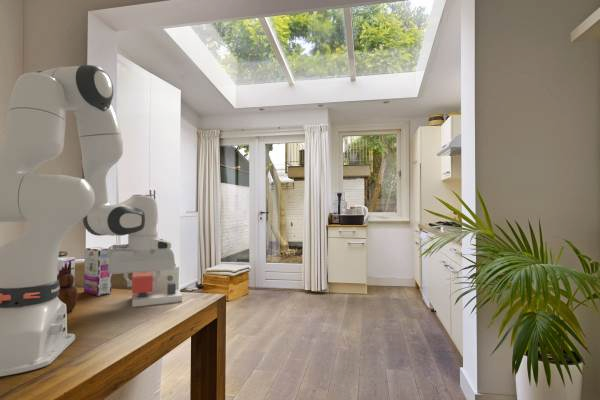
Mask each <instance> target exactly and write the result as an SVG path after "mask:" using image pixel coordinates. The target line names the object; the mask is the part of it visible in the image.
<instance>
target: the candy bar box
mask: <svg viewBox="0 0 600 400" xmlns="http://www.w3.org/2000/svg"><path fill="white" fill-rule="evenodd" d="M108 248H109V247H100V246H93V247H85V248H84V274H83V275H84V277H83V279H84V280H83V292H84V293H87V294H90V295H94V296H97V297H101V296H105V295H111V294H112V276H113V274H109V273H108V263H109V258H108V257H107V250H108Z"/></svg>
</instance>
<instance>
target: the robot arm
mask: <svg viewBox="0 0 600 400" xmlns="http://www.w3.org/2000/svg"><path fill="white" fill-rule="evenodd" d="M113 98H114V85H113V81H112V80H111V78H110V76H109V75H108V73H107V72H106V71H105V70H104V69H103V68H101V67H100V66H98V65H92V64H91V65H90V64H82V65H79V66H78V65H75V66H74V65H73V66H59V67H53V68H50V69H46V70H39V71H36V72H34V71H32V72H26V73H23V74H21V75H20V76H18V78H17V80H16V82H15V84H14V86H13V88H12V92H11V95H10V98H9V102H8V103H9V104H8V107H7V108H8V109H7V115H6V122H5V128H4V133H3V136H2V141H1V144H0V222H3V223H5V222H6V223H7V222H11V223H15V222H17V223H18V222H19V223H20V222H21V223H22V222H23V223H28V225H27V230H26V231H25V232H24V234H23V235H21V236H19V237H16V238H14V239H11V240H10V241H8V242H6V243H4V244H2V246H0V377H4V376H5V377H6V376H11V375H16V374H21V373H26V372H30V371H33V370H37V369H40V368H44V367H46V366H48V365H51V364H52V362H54V360H55V361H56V359H57V358H58V356H60V355H61V354H62V353H63V352H64V351H65V350H66V349H67V348H68V347H69V346H70V345H71V344H72V343H73V342H74V341H75V340H76V335H75V333H68V323H67V322H68V321H67V320H68V319H67V317H68V316H67V315H68V314H67V313H68V312H67V311H66V304H64V303H63V302H62V301H60V299H59V298H58V295H59V289H60V285H59V280H58V279H57V267H58V256H59V251H60V249H61V246H62V242H63V241H64V239H65V237H66V235H67V234H68V233H69V231H70V230H71V229H72V227H73V226H75V225H76V224H77V223H78V222H80V221H83V227H84V228H85V229H86V230H87V232H88V233H90V234H91V235H93V236H97V237H98V236H99V237H101V236H116V237H117V236H118V237H122V236H123V237H124V236H126V235H128V237H127V241H128V242H127V244H126V243H125V244H113V245H112V246H109V247H107V248H108V250H107V257H108V258H109V263H108V273H109V274H112V275H120V274H122V275H123V278H124V279H125V281H126V282H127V283H126V284H127V285H126V287H127V288H132V279H129V274H133V273H137V272H151V271H156V274H157V275H156V277H155V279H153V285H156V284H157V279H158V277H159V276H160V272H161V271H165V270H173V269H174V268H175V266H176V262H175V261H176V260H175V254H174V252H173V250H172V249H171V248H172V242H170V241H169V240H166V239H162V238H158V230H157V225H158V216H159V215H158V213H159V212H158V204H157V200H156V199H155V198H154V197H152V196H149V195H146V194H133V195H131V197H129V198H128V199H126V200H124V201H122V202H119V203H117V204H110V202H109V199H108V189H107V188H108V186H107V175H108V173H109V171H110V169H111V168H112V167H113V166H114V165H116V164H118V162H119V161H120V160H121V158H122V157H123V153H124V151H123V150H124V144H123V138H122V133H121V128H120V124H119V121H118V118H117V114H116V113H115V110H114V108H113V105H112V101H113ZM67 111H72V112H73V114H74V116H75V117H76V127H77V129H76V130H77V134H78V140H79V144H80V151H81V159H82V160H81V161H82V162H81V172H82V178H81V177H75V176H72V175H66V174H56V173H55V174H54V173H53V174H49V173H34V172H35V171H36V170H37V169H38V168H39V167H40V166H42V165H43V164H45V163H48V162H50V161H53V160H55V159H56V158H58V157H59V156H60V155H61V153H62V152H63V150H64V145H65V137H66V136H65V135H66V134H65V133H66V124H67V123H66V122H67Z"/></svg>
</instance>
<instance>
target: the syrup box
mask: <svg viewBox="0 0 600 400" xmlns="http://www.w3.org/2000/svg"><path fill="white" fill-rule="evenodd" d="M70 261H71V274H72V275H73V276H74V283H73V285H72V286H75V283H76V282H75V281H76V280H75V279H76V278H75V277H76V276H75V275H76V269H75V268H76V257H75V256H63V257H58V267H57V276H58V274H59V270H62V267H65V263H67V268H68V265H69V262H70Z"/></svg>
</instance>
